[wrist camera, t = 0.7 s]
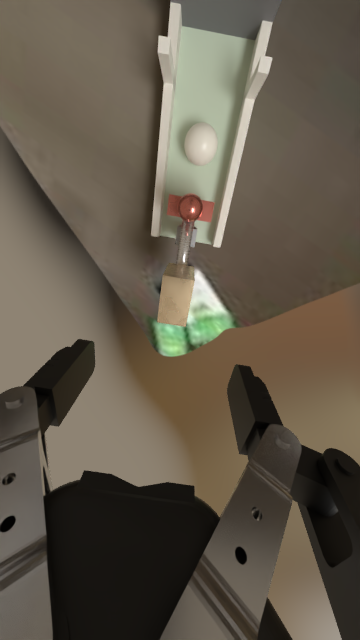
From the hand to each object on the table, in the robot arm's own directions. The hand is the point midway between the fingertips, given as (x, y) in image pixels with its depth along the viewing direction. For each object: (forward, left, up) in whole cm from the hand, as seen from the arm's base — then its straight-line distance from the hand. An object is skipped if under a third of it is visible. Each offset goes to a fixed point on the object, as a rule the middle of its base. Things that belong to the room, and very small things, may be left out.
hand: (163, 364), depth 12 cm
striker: (-4, 0, -23) cm, 24 cm away
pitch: (-15, 0, -25) cm, 30 cm away
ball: (-15, 0, -22) cm, 27 cm away
